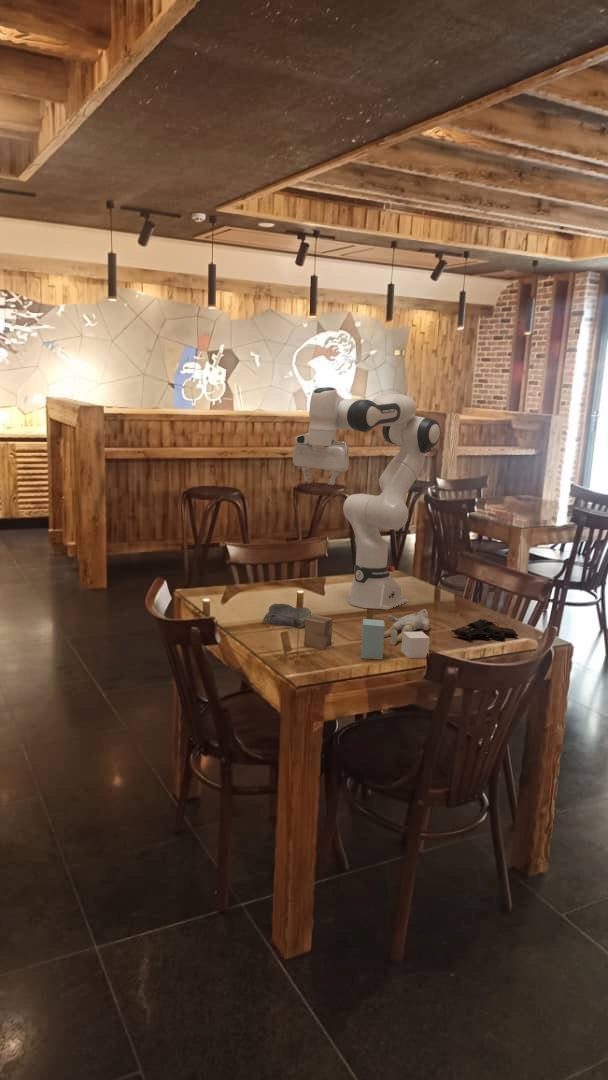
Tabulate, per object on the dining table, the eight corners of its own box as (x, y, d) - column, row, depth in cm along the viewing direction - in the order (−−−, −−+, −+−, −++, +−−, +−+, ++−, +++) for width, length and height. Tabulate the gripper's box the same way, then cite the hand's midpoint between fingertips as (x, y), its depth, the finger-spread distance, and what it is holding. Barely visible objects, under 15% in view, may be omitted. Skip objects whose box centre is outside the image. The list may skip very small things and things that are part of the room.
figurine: (365, 623, 239) (408, 600, 264) (364, 642, 241) (407, 617, 265) (404, 632, 232) (444, 607, 257) (403, 652, 234) (443, 625, 258)
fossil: (305, 630, 246) (305, 619, 245) (257, 623, 250) (258, 612, 250) (318, 618, 261) (318, 607, 260) (273, 612, 265) (273, 601, 264)
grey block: (401, 651, 230) (402, 631, 229) (420, 651, 231) (422, 631, 230) (408, 658, 224) (409, 638, 223) (427, 657, 226) (429, 637, 224)
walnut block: (313, 640, 235) (314, 614, 234) (331, 644, 233) (332, 618, 231) (303, 645, 230) (305, 619, 229) (322, 649, 227) (323, 623, 226)
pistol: (522, 629, 250) (481, 614, 259) (494, 641, 236) (451, 624, 245) (520, 641, 251) (479, 625, 260) (491, 654, 237) (449, 637, 246)
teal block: (360, 652, 227) (363, 618, 225) (381, 653, 227) (383, 620, 225) (360, 658, 221) (363, 624, 219) (382, 660, 221) (384, 626, 219)
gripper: (354, 441, 244) (351, 486, 246) (303, 436, 256) (300, 479, 259) (342, 442, 239) (339, 487, 241) (290, 437, 251) (288, 480, 254)
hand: (319, 482), depth 250 cm, fingers open, 8 cm apart
